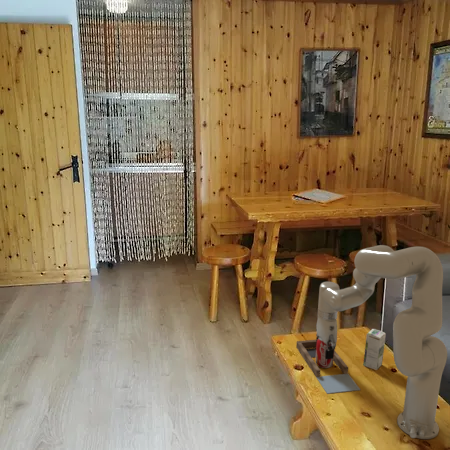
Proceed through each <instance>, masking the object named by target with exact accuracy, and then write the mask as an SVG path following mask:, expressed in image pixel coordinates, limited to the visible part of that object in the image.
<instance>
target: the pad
mask: <svg viewBox="0 0 450 450" xmlns="http://www.w3.org/2000/svg"><path fill="white" fill-rule="evenodd" d="M315 378H316V380H317V381H318V382H319V384H320V385H321V387H322V389H323V390H324V392H325V393H326V394H327V395H328V394H337V393H339V394H340V393H346V392H356V391H361V388H360V387H359V386H358V385H357V383H356V382H355V381H354V379H353V378H352V377H351V376H350V374H349V373H348V374H343V373H342V374H341V373H340V374H339V373H338V374H332V375H331V374H330V375H320V377H316V376H315Z"/></svg>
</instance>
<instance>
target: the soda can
mask: <svg viewBox="0 0 450 450" xmlns="http://www.w3.org/2000/svg"><path fill="white" fill-rule="evenodd" d="M328 342H331V341H328ZM328 345H329V347H330V346H331V344H328ZM326 350H327V347H326V344H325V343H324V342H323V341H322V340H321V338H320V337H319V338H318V340H317V345H316V357H315V363H316V365H317V366H318V368H319V367H320V368H322V369H329V368H332V367H333V365H334V361H333V359H334V357H333V359H325V354H326Z"/></svg>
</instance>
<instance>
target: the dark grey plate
mask: <svg viewBox="0 0 450 450" xmlns="http://www.w3.org/2000/svg"><path fill="white" fill-rule="evenodd" d="M306 350H307V352H308V353H309V355H310V356H311V358H312V359H313V358H316V348H307V349H306Z"/></svg>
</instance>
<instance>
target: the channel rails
mask: <svg viewBox="0 0 450 450" xmlns="http://www.w3.org/2000/svg"><path fill="white" fill-rule="evenodd" d="M295 346H296V347H295V348H296V349H297V351H298V353H299V354H300V355H301V357H302V359H303V360H304V362H305V363H306V364H307V366H308V367H309V369H310V370H311V372H312V374H313V375H314V376H315V378H316V377H320V376H321V369H320V368H319V366H318V365H317V364H316V361H315V360H314V359H313V358H311V356H310V355H309V353H308V352H307V350H306V349H309V348H316V339H308V340H297V341H296V345H295ZM333 363H334V364H335V365H336V366H337V367H338V369H339V370H340V372H342V374H349V366H348V365H347V363H346V362H345V361H344V360H343V359H342V358H341V356H340V355H339V354H338V353H337V352H336V349H335V350H334V359H333Z"/></svg>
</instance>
